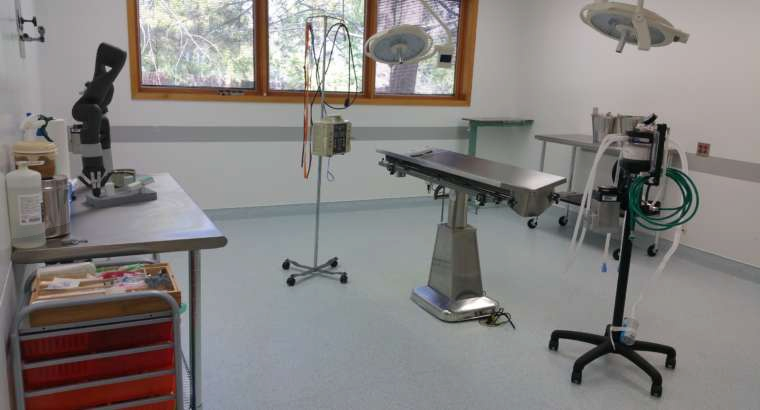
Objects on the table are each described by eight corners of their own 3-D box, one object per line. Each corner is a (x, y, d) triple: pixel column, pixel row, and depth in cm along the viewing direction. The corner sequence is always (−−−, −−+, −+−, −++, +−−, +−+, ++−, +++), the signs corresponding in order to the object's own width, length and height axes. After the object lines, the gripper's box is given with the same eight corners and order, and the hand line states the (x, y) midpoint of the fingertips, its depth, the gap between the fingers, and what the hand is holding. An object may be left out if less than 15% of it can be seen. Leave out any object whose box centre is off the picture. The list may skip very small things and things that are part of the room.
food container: (144, 190, 251) (141, 168, 249) (137, 193, 245) (134, 171, 243) (118, 189, 252) (116, 168, 250) (111, 192, 246) (108, 170, 244)
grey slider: (124, 189, 238) (122, 176, 236) (132, 188, 240) (130, 175, 238) (127, 190, 235) (125, 178, 234) (135, 189, 237) (133, 177, 236)
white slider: (104, 196, 224) (102, 183, 223) (113, 195, 226) (111, 182, 225) (107, 198, 222) (105, 184, 220) (115, 196, 224) (114, 183, 222)
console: (86, 201, 229) (84, 188, 228) (144, 193, 245) (142, 181, 244) (97, 208, 218) (95, 194, 217) (157, 198, 234) (155, 186, 233)
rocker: (128, 189, 231) (126, 184, 230) (150, 180, 237) (148, 175, 236) (132, 191, 227) (130, 186, 226) (155, 182, 233) (153, 177, 232)
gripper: (106, 152, 223) (111, 192, 228) (71, 155, 215) (76, 197, 219) (112, 154, 218) (117, 196, 222) (76, 157, 209) (81, 201, 213)
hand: (96, 196), depth 220 cm, fingers closed
